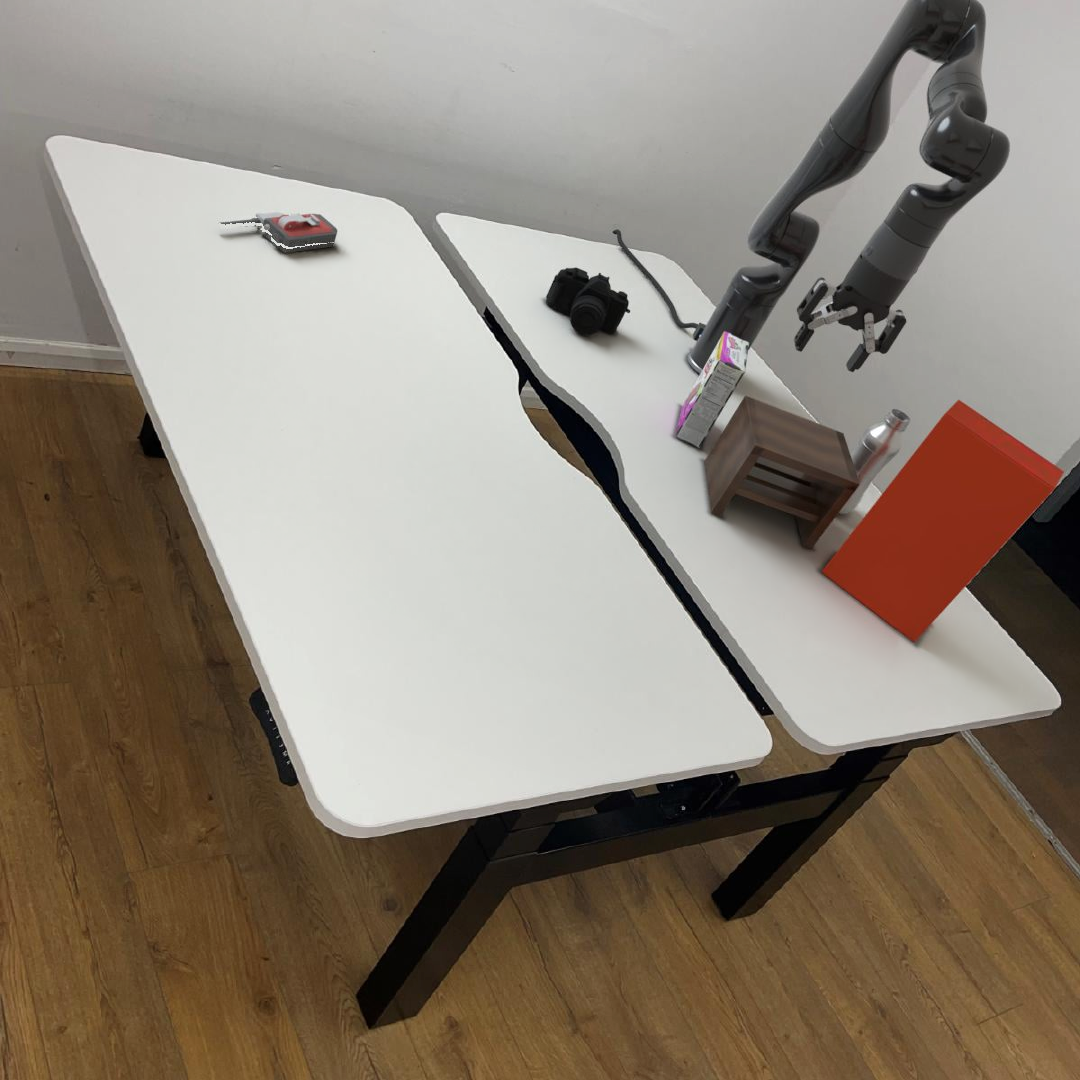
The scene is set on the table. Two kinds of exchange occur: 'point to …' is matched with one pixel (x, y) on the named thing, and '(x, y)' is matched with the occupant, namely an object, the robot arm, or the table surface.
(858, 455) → the silver metal bottle
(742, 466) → the shoe rack
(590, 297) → the film camera
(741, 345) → the candy bar box
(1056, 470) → the file binder
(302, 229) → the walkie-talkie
